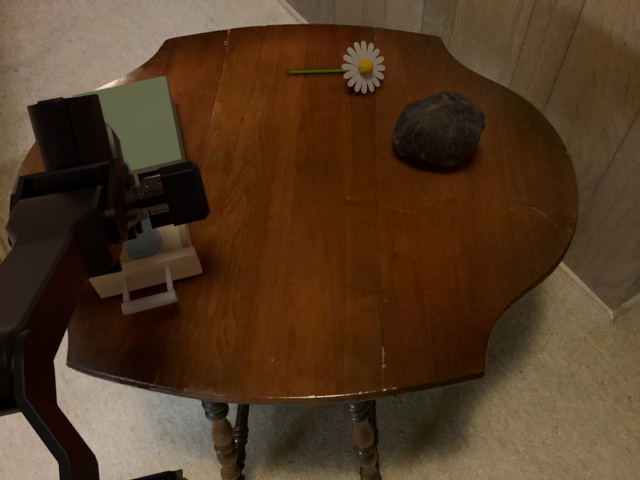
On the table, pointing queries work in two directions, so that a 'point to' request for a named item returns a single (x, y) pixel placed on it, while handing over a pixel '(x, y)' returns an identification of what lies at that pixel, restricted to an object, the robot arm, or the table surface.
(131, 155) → the cabinet
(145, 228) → the canister
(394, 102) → the table surface
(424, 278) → the table surface
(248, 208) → the table surface
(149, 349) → the table surface
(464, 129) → the rock
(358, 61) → the decorative flower
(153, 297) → the drawer
